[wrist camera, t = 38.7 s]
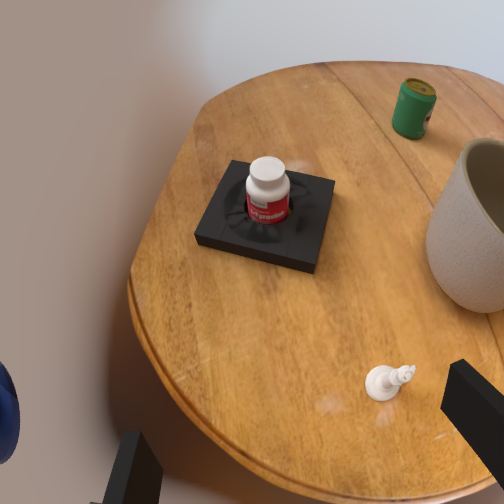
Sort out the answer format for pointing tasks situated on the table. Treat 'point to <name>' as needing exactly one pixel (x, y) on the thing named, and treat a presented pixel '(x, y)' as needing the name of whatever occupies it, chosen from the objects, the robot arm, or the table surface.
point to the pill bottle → (267, 191)
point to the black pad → (268, 236)
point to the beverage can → (413, 108)
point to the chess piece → (387, 381)
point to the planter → (471, 229)
